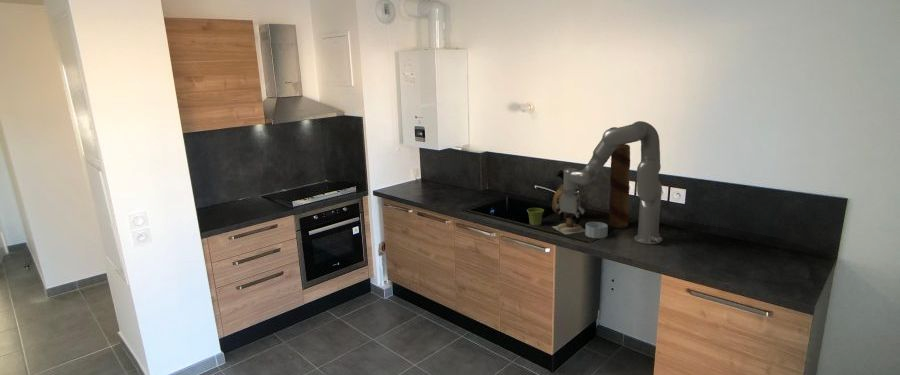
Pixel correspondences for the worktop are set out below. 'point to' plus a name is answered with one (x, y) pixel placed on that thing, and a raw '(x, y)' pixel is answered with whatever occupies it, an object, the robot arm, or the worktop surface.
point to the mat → (567, 232)
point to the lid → (569, 226)
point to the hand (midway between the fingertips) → (569, 222)
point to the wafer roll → (619, 186)
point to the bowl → (596, 230)
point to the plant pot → (535, 215)
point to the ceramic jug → (558, 195)
